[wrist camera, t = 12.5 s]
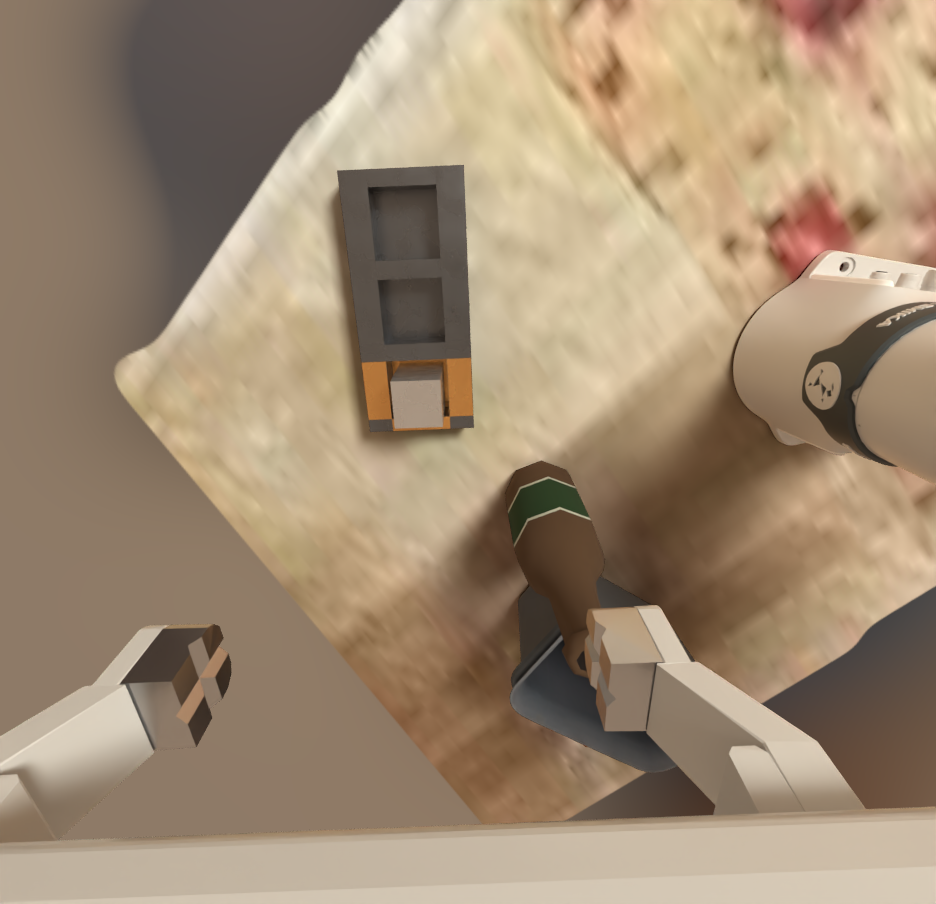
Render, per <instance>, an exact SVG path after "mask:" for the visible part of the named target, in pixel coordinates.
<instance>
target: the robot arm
mask: <svg viewBox="0 0 936 904" xmlns="http://www.w3.org/2000/svg"><path fill="white" fill-rule="evenodd" d="M842 263H843V268H842V270H841V271H840V269H839V268H840V265H841V264H842ZM733 377H734V383H735V387H736V390H737V392H738V395H739V397H740V398H741V400H742V402H743V403H744V404H745V405H746V407H747V408H748V409H749V410H750V411H752V412H753V413H754V414H756V415H757V416H759V417H760V418H762V419H763V420H764V421H766V422H767V423H768V424H769V426H770V429H771V431H772V433H773V434H774V436H775V438H776V439H777V440H778V441H779V442H781V443H783V444H786V445H789V446H792V445H797V444H802V443H808V444H811V445H813V446H815V447H818V448H820V449H822V450H825V451H827V452H829V453H832V454H835V455H841V456H842V455H844V454H845V453H852V452H853V453H855V454H857V455H859V456H861V457H863V458H867V459H869V460H873V461H875V462H878V463H881V464H884V465H888V466H895V467H900V468H902V469H904V470H906V471H908V472H910V473H912V474H914V475H916V476H918V477H920V478H922V479H924V480H926V481H928V482H930V483H932V484H934V485H936V268H932V267H927V266H921V265H915V264H910V263H904V262H898V261H893V260H887V259H881V258H876V257H870V256H864V255H859V254H853V253H847V252H841V251H836V250H827V251H824V252H823V253H821V254H820V255H819V256H817V257H816V258H815V259H814V260H813V262H812V263H811V264H810V265H809V266H808V267H807V269H806V270H805V271H804V272H803V274H802V275H801V276H800V278H798V279H797V280H796V281H795V282H794V283H792V284H791V285H789V286H788V287H786V288H785V289H783V290H782V291H780V292H778V293H777V294H776V295H774V296H773V297H772V298H770V299H769V300H768V301H767V302H766V303H765V304H764V305H763V306H762V307H761V308H760V309H759V310H758V311H757V312H756V313H755V315H754V316H753V317H752V318H751V320H750V321H749V323H748V324H747V326H746V327H745V329H744V331H743V333H742V335H741V337H740V340H739V342H738V345H737V348H736V351H735V356H734V362H733ZM586 624H587V628H588V631H589V635H588V636H587V638H586V639H585V663H586V669H587V674H588V678H589V681H590V685H592V686H593V687H594V688H595V689H596V690H597V694H596V705H597V708H598V711H599V715H600V718H601V721H602V725H603V728H604V731H647V734H648V735H649V736H650V737H651V738H652V739H653V740H654V741H655V743H656V744H657V745H658V746H659V747H660V748H661V749H662V750H663V751H664V752H665V753H666V754H667V755H668V756H669V757H670V758H671V759H672V760H673V761H674V762H675V763H676V764H677V765H678V766H679V768H680V769H681V770H682V771H683V772H684V773H685V774H686V775H687V776H688V777H689V778H690V779H691V780H692V781H693V782H694V783H695V784H696V785H697V786H698V787H699V788H700V789H701V790H702V791H703V793H704V794H705V795H706V796H707V797H708V798H709V799H710V800H711V801H712V802H713V803H714V804H715V805H716V807H715V810H714V814H713V815H707V816H680V817H654V818H627V819H602V820H575V821H549V822H524V823H499V824H474V825H451V826H450V825H449V826H426V827H399V828H398V827H397V828H373V829H345V830H320V831H319V830H318V831H295V832H294V831H292V832H266V833H240V834H214V835H187V836H163V837H137V838H136V837H135V838H110V839H84V840H61V841H60V840H59V839H60V838H61V837H62V836H63V835H64V834H65V833H67V832H68V831H69V830H70V829H71V828H72V827H73V826H74V825H75V824H77V823H78V822H79V821H80V820H81V819H82V818H83V817H84V816H85V815H86V814H88V812H90V811H91V810H92V809H93V808H94V807H95V806H96V805H97V804H98V803H100V802H101V801H102V800H103V799H104V798H105V797H106V796H107V795H108V794H109V793H111V792H112V791H113V790H114V789H115V788H116V787H117V786H118V785H119V784H120V783H122V781H124V780H125V779H126V778H127V777H128V776H129V775H130V774H131V773H133V772H134V771H135V770H136V769H137V768H138V767H139V766H140V765H141V764H142V763H143V762H145V761H146V760H147V759H148V758H149V757H150V756H151V755H152V754H153V753H154V750H166V749H180V748H195V747H197V745H198V743H199V741H200V740H201V737H202V736H203V734H204V732H205V730H206V728H207V727H208V725H209V723H210V721H211V719H212V716H211V712H210V708H211V707H213V706H214V705H215V704H217V703H218V702H219V701H220V700H222V698H223V696H224V694H225V692H226V690H227V688H228V685H229V681H230V677H231V661H230V658H229V654H228V653H227V652H226V651H225V650H224V649H222V648H221V647H220V646H219V645H220V643H221V641H222V640H223V635H222V632H221V629H220V627H219V626H217V625H215V624H192V625H191V624H188V625H169V626H168V625H158V626H156V625H155V626H146V627H144V628H142V629H140V630H139V631H138V632H137V633H136V635H135V636H134V637H133V638H132V639H131V640H130V642H129V643H128V644H127V645H126V646H125V647H124V649H123V650H122V651H121V652H120V654H119V655H118V656H117V657H116V658H115V659H114V660H113V662H112V663H111V664H110V665H109V666H108V667H107V669H106V670H105V671H104V672H103V673H102V674H101V676H100V677H99V678H98V679H97V680H96V682H95V683H94V684H93V685H92V686H84V687H82V688H80V689H79V690H77V691H75V692H74V693H72V694H70V695H69V696H67V697H65V698H64V699H62V700H61V701H59V702H57V703H56V704H54V705H52V706H50V707H49V708H47V709H46V710H44V711H42V712H40V713H39V714H37V715H36V716H34V717H32V718H31V719H29V720H27V721H25V722H24V723H22V724H20V725H19V726H17V727H15V728H14V729H12V730H10V731H9V732H7V733H5V734H4V735H2V736H0V904H936V807H916V808H890V809H865V807H864V806H863V804H862V803H861V802H860V800H859V799H858V798H857V796H856V795H855V793H854V792H853V791H852V789H851V788H850V786H849V785H848V784H847V782H846V781H845V780H844V778H843V777H842V775H841V774H840V773H839V771H838V770H837V768H836V767H835V766H834V764H833V763H832V761H831V760H830V759H829V757H828V756H827V755H826V753H825V752H824V751H823V749H822V748H821V746H820V745H819V743H818V742H817V741H816V740H814V739H813V738H811V737H810V736H808V735H807V734H805V733H804V732H802V731H801V730H799V729H798V728H796V727H795V726H793V725H792V724H790V723H788V722H787V721H786V720H784V719H783V718H781V717H780V716H778V715H777V714H775V713H774V712H772V711H771V710H769V709H768V708H766V707H765V706H763V705H762V704H760V703H759V702H757V701H756V700H754V699H753V698H752V697H750V696H749V695H747V694H746V693H744V692H743V691H741V690H740V689H738V688H737V687H735V686H734V685H732V684H731V683H729V682H728V681H726V680H725V679H723V678H722V677H720V676H719V675H717V674H716V673H714V672H713V671H711V670H710V669H708V668H707V667H705V666H704V665H702V664H701V663H699V662H691V661H690V659H689V657H688V655H687V654H686V652H685V650H684V648H683V646H682V645H681V643H680V641H679V639H678V638H677V636H676V634H675V632H674V631H673V629H672V627H671V625H670V623H669V622H668V620H667V618H666V616H665V615H664V613H663V611H662V609H661V608H660V607H659V606H657V605H648V606H634V607H619V608H598V609H588V612H587V619H586Z"/></svg>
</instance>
